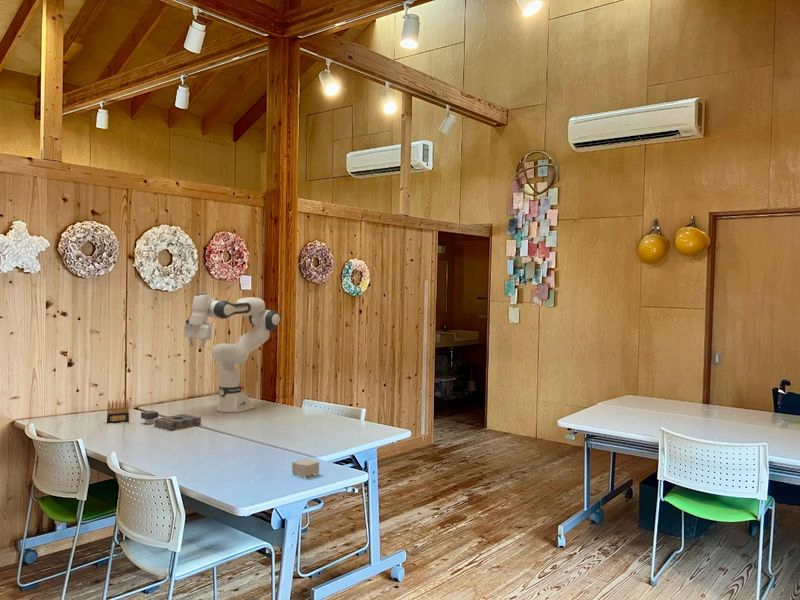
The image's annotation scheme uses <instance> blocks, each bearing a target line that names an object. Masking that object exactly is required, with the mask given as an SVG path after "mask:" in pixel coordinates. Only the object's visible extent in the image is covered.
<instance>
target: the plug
mask: <svg viewBox="0 0 800 600" xmlns="http://www.w3.org/2000/svg"><path fill="white" fill-rule="evenodd" d="M158 418H159V412H158V411H157V410H156V411H155V410H148V411H142V412H140V419H143V420H144V424H145V423H146V425H151V423H152V424H154V422H155V419H158Z"/></svg>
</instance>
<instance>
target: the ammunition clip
mask: <svg viewBox="0 0 800 600" xmlns="http://www.w3.org/2000/svg"><path fill="white" fill-rule="evenodd" d="M106 410H107V411H106V413H107V416H106V424H107V423H113V424H122V423H121V422H125V423H130V406H129V400H128V399H126V401H125V399H123V401H121V399H119V402H118V400H115V402H114V400H112V402H111V401H110V400H108V402H107V409H106Z"/></svg>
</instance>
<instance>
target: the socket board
mask: <svg viewBox="0 0 800 600" xmlns="http://www.w3.org/2000/svg"><path fill="white" fill-rule="evenodd" d="M201 420H202V418H201V417H200V416H196V415H192V414H188V413H187V414H186V413H181V414H175V415H169V416H166V417H164V416H163V417H158V418H154V423H153V425H154V428H157V427H158V429H161V428H162V430H165V429H167V430H166V431H169V430H170V431H169V432H172V430H173V431H178V430H183V429H187V427H188V428H191V427H197V426H201V425H202V422H201ZM182 428H183V429H182ZM177 429H178V430H177Z"/></svg>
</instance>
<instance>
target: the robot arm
mask: <svg viewBox="0 0 800 600" xmlns="http://www.w3.org/2000/svg"><path fill="white" fill-rule="evenodd" d="M191 309H192V313H191V317H190V318H187V319H186V320H185V321H184V324H185V325H184V328H183V336H184V338H188V339H187V340H188V346H189V347H194V342H193V341H194V339H200V340H201V342H200V344H199V348H205V344H206V342H207V340H211V339H212V325H211V323H210V322H208V318H216V319H218V318H219V319H223V320H225V319H228V318H230V317H231V316H234V315H239V316H248V321H249V323H250V325H251V326H253V329H251V330H249V331H247V332H246V333H244V334H242V335H240V336H239V338H238V339H237V340H238V341H237V342H235V343H224V342H222V343H218V344H217V343H216V344H215V345H214V346H213V347H212V351H211V354H212V358H213V359H214V360H215V362H216V363H217V367H218V370H219V387H218V394H219V396H218V403H217V407H216V411H217V412H222V413H241V412H246V411H248V410H253V409H255V406H254V405H253V404H251V399H250V397H249V396H247V394H245V393H244V392H243V391H242V390H245V388H246V387H245V386H244V385H240V371H239V370H238V368H237V367H236V365H237V364H243V363H246V362H247V361H248V359H249V355H250V353H251V352H253V351H254V350H255V349H257V348H259V347H260V346H262V345H263V344H264V343H266V342H267V341H268V340H269V339H270V335H271V334H270V332H272V331H274V330H275V328H277V327H278V326H279V324H280V323H281V320H282V319H281V315H280V313H279V312H278V311H276V310H272V309H271V310H270V309H266V303H265V301H264V300H263V299H262V298H259V297H251V296H250V297H249V296H247V297H242V298H239V299H237V300H236V302H234V303H232V302H230V301H227V300H215V299H214V298H212V297H211V296H210V294H209V293H206V292H205V293H197V294H194V296H193V301H192V307H191ZM235 364H236V365H235Z"/></svg>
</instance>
